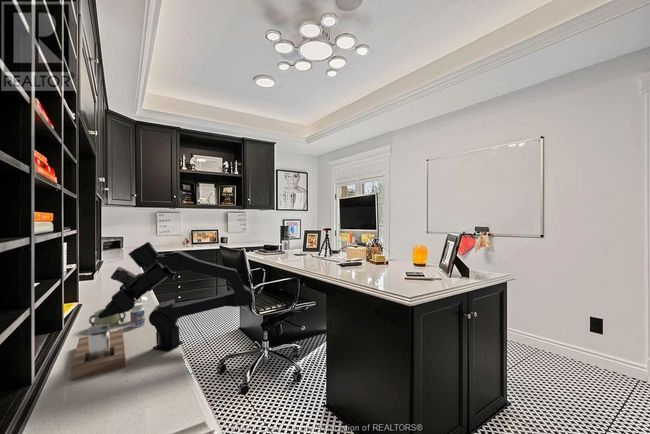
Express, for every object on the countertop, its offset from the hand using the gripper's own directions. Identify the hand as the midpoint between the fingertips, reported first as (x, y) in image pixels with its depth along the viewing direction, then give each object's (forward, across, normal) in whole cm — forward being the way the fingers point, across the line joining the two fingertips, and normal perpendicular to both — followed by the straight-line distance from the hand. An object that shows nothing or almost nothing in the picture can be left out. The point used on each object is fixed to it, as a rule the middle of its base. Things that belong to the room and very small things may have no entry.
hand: (102, 312), depth 95 cm
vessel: (+12, -32, +9) cm, 36 cm away
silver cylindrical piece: (+8, +5, +11) cm, 15 cm away
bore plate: (+9, -1, +11) cm, 14 cm away
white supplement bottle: (+3, -35, +16) cm, 39 cm away
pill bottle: (+4, -27, +15) cm, 31 cm away
